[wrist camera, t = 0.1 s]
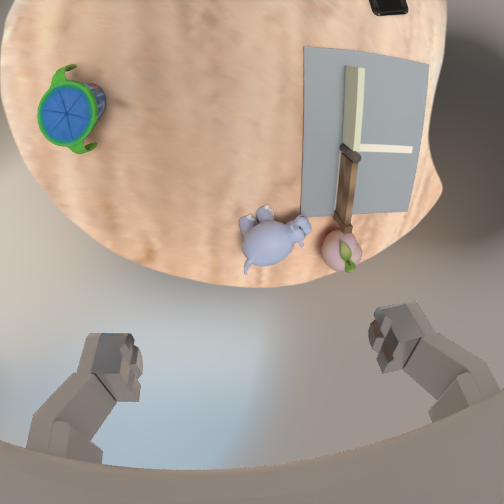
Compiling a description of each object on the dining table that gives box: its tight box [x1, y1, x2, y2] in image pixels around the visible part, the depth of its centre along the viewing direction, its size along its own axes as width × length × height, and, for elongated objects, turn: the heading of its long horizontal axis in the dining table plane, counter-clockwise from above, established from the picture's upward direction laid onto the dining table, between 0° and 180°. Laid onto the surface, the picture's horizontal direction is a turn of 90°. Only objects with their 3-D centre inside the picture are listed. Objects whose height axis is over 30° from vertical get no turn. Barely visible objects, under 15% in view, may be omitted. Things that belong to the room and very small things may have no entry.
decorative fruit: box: [321, 229, 362, 273], centre depth 64 cm, size 9×8×10 cm
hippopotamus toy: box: [239, 204, 312, 275], centre depth 61 cm, size 11×15×10 cm
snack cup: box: [37, 64, 106, 154], centre depth 40 cm, size 16×10×10 cm
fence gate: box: [342, 65, 365, 151], centre depth 47 cm, size 15×1×6 cm, turn 2°
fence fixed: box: [333, 143, 361, 234], centre depth 56 cm, size 16×2×7 cm, turn 2°
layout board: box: [300, 47, 429, 217], centre depth 54 cm, size 34×26×1 cm
